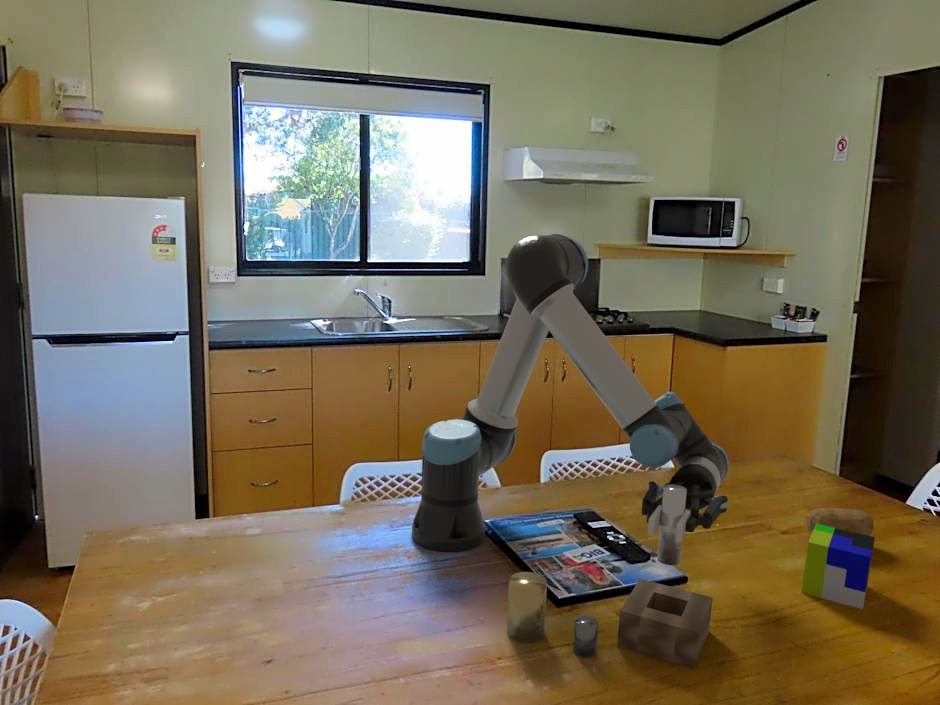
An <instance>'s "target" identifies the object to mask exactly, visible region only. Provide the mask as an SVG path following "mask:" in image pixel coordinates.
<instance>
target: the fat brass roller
mask: <svg viewBox="0 0 940 705" xmlns="http://www.w3.org/2000/svg"><path fill="white" fill-rule="evenodd" d="M547 586H548V581H547V579H546V578H545V577H544V576H543V575H541V574H538V573H537V572H530V571H521V572H515V573H514V574H512V575H510V576H509V579H508V593H507V594H508V596H507V597H508V598H507V615H506V616H507V617H506V634H507V636H508V637H509V639H511V640H513V641H515V642H517V643H522V644H533V643H534V644H535V643H537V642H540V641H541V640H543V638H544V636H545V624H546V623H545V621H546V605H547V590H548V589H547Z"/></svg>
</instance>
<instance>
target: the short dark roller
mask: <svg viewBox="0 0 940 705" xmlns="http://www.w3.org/2000/svg"><path fill="white" fill-rule="evenodd" d="M598 629H599V621H598V620H597V619H596V618H595V617H593V616H591V615H579V616H577V617H575V620H574V629H573V630H574V631H573V647H572V648H573V649H572V651H573V653H574V655H576V656H578V657H580V658H584V659H587V658H589V659H591V658H593V657H594V656H596V654H597V645H598V644H597V643H598V642H597V641H598Z"/></svg>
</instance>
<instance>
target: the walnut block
mask: <svg viewBox="0 0 940 705" xmlns="http://www.w3.org/2000/svg"><path fill="white" fill-rule="evenodd" d="M713 599H714V598H713V597H712V596H708V595H705V594H704V595H703V594H700V593H698V592H697V593H696V592H693V591H689V590H685V589H681V588H677V587H673V586H669V585H667V584H661V583H658V582H654V581H650V580H646V579H641V578H640V579H638V581H637V583H636V584H635V586H634V587H633V589H632V591H631V592H630V593H629V595H628V597H627V599H626V600H625V602H624V603H623V605H622V606H621V608H620V610H619V620H618V630H617V640H616V646H617V647H620V648H622V649H627V650H630V651H633V652H637V653H640V654H643V655H647V656H650V657H653V658H656V659H659V660H663V661H667V662H668V663H669V662H670V663H673V664H677V665H680V666H683V667H686V668H689V669H692V670H696V667H697V664H698V662H699V659H700V656H701V654H702V651H703V648H704V645H705V644H706V640H707V638H708V635H709V633H710V626H711V616H712V608H713Z"/></svg>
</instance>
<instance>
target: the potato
mask: <svg viewBox="0 0 940 705" xmlns="http://www.w3.org/2000/svg"><path fill="white" fill-rule="evenodd" d="M816 524H820V525H824V526H829V527H833V528H837V529H842V530H846V531H850V532H855V533H859V534H863V535H868V536H871V534H872V533H873V531H874V528H875V527H874V526H875V523H874V519H873V517H872V516H871V515H870V514H868V513H866V512H865V511H862V510H859V509H856V508H855V509H853V508H851V509H849V508H840V507H828V508H827V507H825V508H823V507H820V508H815V509H812V510H811V511H810V512H809V513H808V515H807V519H806V526H807V530H808V532H810V535H811V534H812V532H813V530H814V527H815V525H816Z"/></svg>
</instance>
